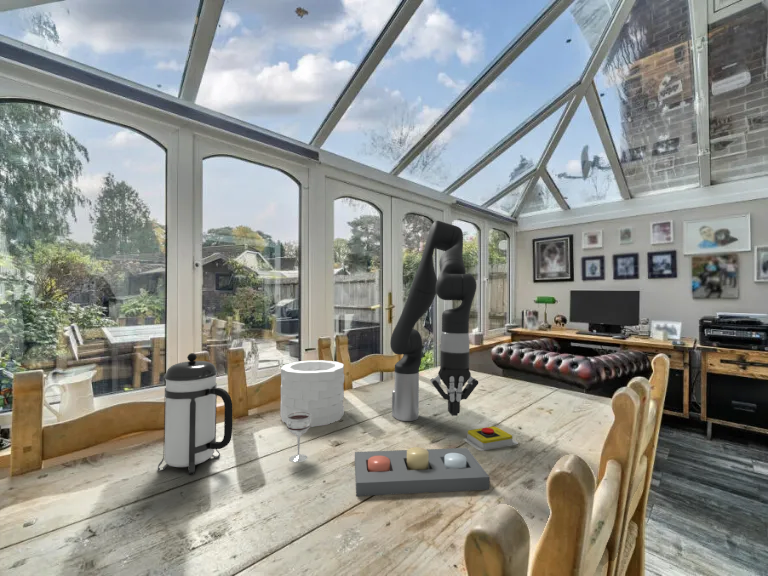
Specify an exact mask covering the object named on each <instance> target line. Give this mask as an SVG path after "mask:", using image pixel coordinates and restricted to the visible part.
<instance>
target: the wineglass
mask: <svg viewBox="0 0 768 576" xmlns="http://www.w3.org/2000/svg"><path fill="white" fill-rule="evenodd" d="M310 416H311V414H310V413H308V412H294V413H291V414H289V415H287V418H288V421H287V423H286V428H287V431H289V432H290V434H291V435H292V434H293V435H294V436H296V439H297V442H296V443H297V454H294V455H291V456H290V457H289V461H290V462H292V463H302V462H305V461H306V460H307V459H308V456H307V455H306V454H303V453H302V454H301V453H300V449H301V448H300V447H301V445H300V444H301V436H302V435H303V434H305V433H307V432H308V430H309V429H310V428H311V427H310V425H311V419H310Z"/></svg>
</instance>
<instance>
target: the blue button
mask: <svg viewBox="0 0 768 576" xmlns="http://www.w3.org/2000/svg"><path fill="white" fill-rule="evenodd" d="M444 465H445V467H446V468H447V469H451V468H466V457H465V456H464V455H462V454H459V453H448V454H446V455H445V457H444Z"/></svg>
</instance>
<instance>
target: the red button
mask: <svg viewBox="0 0 768 576" xmlns="http://www.w3.org/2000/svg"><path fill="white" fill-rule="evenodd" d="M380 471H390V459H389V458H387V457H385V456H373V457H370V458H369V459H368V471H367V472H380Z"/></svg>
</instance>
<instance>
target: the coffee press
mask: <svg viewBox="0 0 768 576" xmlns="http://www.w3.org/2000/svg"><path fill="white" fill-rule="evenodd" d="M197 357H198V356H197V354H196V353H189V354H188V355H187V357H186V358H187V360H188V361H183V362H178V363H175V364H173V365H171V366H169V367H168V369H167V370H166V373H164V375H163V377H164V380H165V388H164V398H165V401H164V407H163V409H164V410H163V413H164V414H163V417H164V418H163V435H164V450H163V451H162V452H163V453H162V459H161V460H160V462H159V463H158V465H157V471H159V470H160V468H161V467H160V466H161V465H162V463H163V462H164V461H165V463H166V464H165V465H164V466H163V467H162V468H163V469H164V470H165V469H166V468H167V467H168V466H170V467H176V468H187V467H188V475H189V476H190V475H191V476H192V475H195V474H196V466H197V465H199V464H201V463H204V462H206V461H207V460H208V459H210V458H211V457H212V458H213V459H220V457H221V453H220V451H219V450H220V449H221V450H222V449H223V448H225V447H227V446H228V445H229V444H230V443H231V440H232V435H233V414H234V413H233V410H234V409H233V401H232V397H231V395H230V393H229V392H228V391H227V390H226V389H223V388H220V387H218V383H217V375H218V369H216V366H215V364H213V363H211V362H210V361H205V360H197ZM217 397H220V398H221V400H222V401H223V405H224V423H223V424H224V426H223V427H224V429H223V430H224V431H223V438H222V440H221V441H217ZM215 451H216V452H217V453H218V455H214V453H215Z"/></svg>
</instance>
